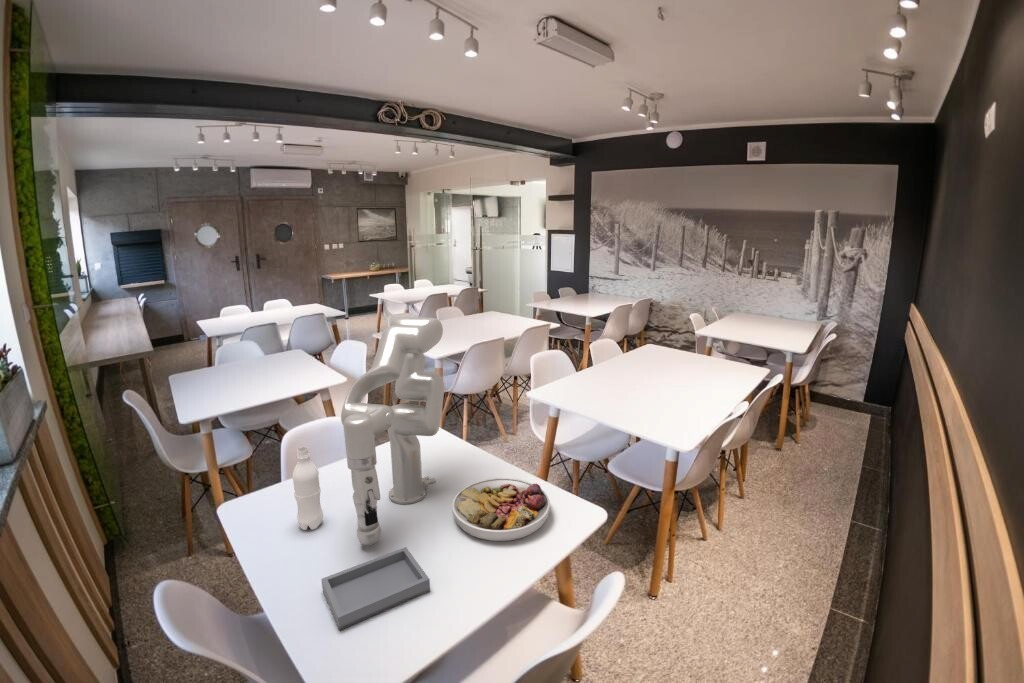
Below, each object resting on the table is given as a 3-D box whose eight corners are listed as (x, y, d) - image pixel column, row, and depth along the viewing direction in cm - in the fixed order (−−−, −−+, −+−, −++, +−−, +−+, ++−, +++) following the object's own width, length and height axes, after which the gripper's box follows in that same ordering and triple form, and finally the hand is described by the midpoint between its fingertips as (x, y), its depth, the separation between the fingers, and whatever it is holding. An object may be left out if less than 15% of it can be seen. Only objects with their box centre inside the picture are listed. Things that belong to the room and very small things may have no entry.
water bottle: (315, 533, 146) (306, 455, 140) (293, 531, 147) (283, 453, 142) (328, 519, 153) (320, 444, 147) (307, 517, 154) (299, 442, 148)
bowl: (478, 559, 135) (477, 534, 133) (438, 506, 160) (437, 484, 159) (569, 527, 149) (569, 503, 147) (519, 483, 174) (519, 462, 173)
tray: (406, 558, 135) (406, 546, 134) (430, 591, 123) (429, 578, 122) (322, 591, 123) (321, 578, 123) (339, 631, 111) (338, 617, 110)
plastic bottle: (386, 535, 143) (380, 473, 137) (372, 550, 136) (366, 485, 131) (367, 531, 145) (360, 469, 140) (352, 546, 138) (345, 481, 133)
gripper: (386, 468, 129) (391, 529, 134) (365, 443, 143) (370, 499, 147) (357, 477, 125) (364, 539, 130) (338, 450, 139) (345, 507, 143)
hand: (367, 517), depth 138 cm, fingers closed on plastic bottle, 6 cm apart
